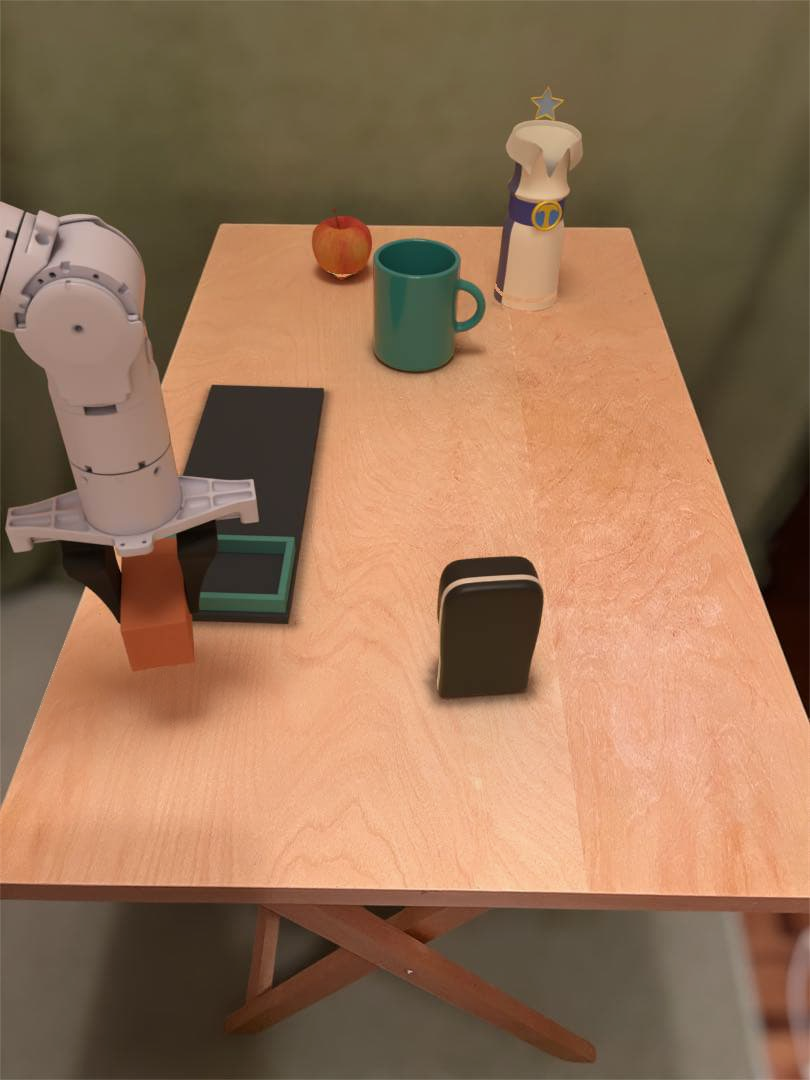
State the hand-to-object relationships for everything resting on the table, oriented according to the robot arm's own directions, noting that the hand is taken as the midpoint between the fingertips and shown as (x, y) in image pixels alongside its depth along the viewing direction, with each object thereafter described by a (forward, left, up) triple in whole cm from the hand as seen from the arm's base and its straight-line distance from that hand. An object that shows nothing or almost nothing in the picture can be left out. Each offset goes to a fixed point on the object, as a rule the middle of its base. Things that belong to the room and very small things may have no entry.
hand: (158, 607), depth 61 cm
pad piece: (0, 0, -1) cm, 1 cm away
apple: (+23, +61, -9) cm, 66 cm away
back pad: (+7, +21, -8) cm, 24 cm away
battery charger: (+22, -4, -9) cm, 24 cm away
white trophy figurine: (+44, +52, -9) cm, 69 cm away
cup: (+29, +41, -9) cm, 51 cm away
